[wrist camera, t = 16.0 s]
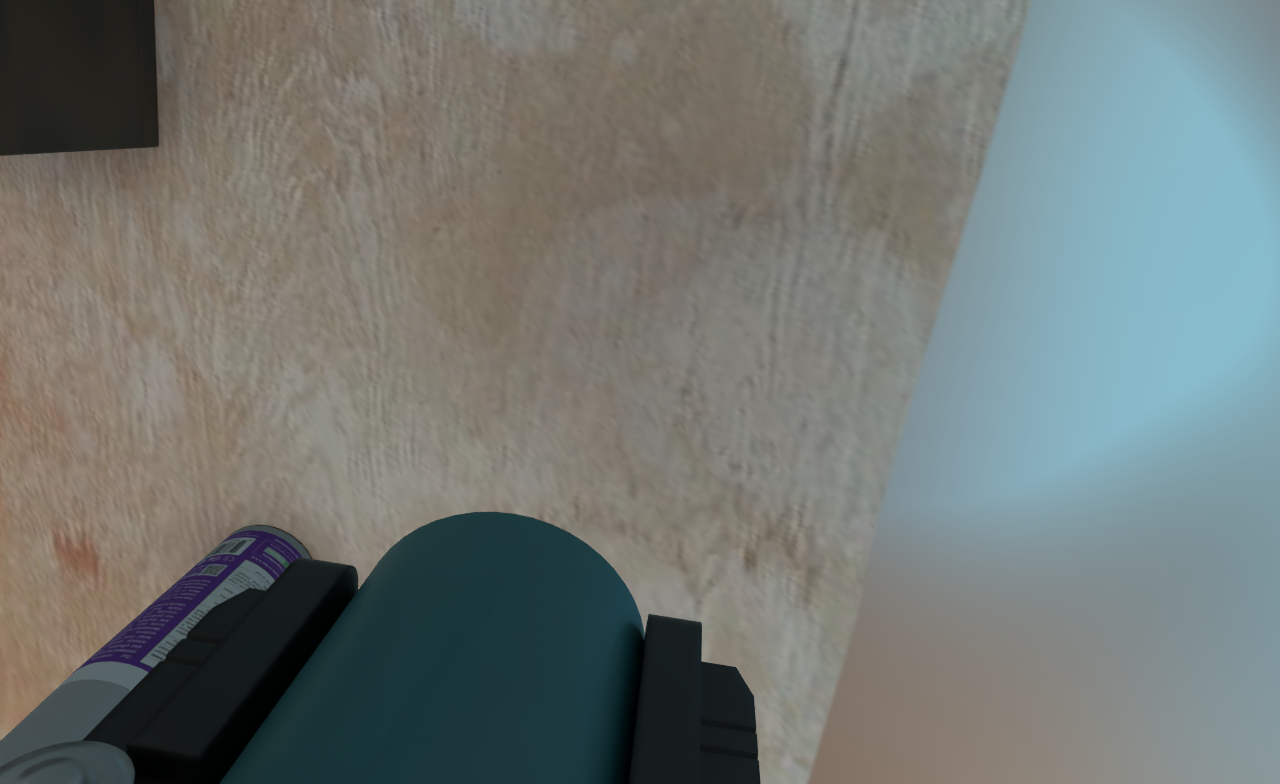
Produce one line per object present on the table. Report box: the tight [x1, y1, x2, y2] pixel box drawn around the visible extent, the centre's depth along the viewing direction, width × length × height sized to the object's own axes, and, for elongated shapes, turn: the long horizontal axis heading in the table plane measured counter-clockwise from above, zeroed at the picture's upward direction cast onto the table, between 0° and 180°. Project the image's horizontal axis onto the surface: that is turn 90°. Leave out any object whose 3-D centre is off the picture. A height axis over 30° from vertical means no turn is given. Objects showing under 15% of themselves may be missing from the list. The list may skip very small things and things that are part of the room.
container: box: [0, 526, 311, 767], centre depth 32 cm, size 5×5×15 cm
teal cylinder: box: [219, 512, 645, 784], centre depth 9 cm, size 4×4×5 cm
